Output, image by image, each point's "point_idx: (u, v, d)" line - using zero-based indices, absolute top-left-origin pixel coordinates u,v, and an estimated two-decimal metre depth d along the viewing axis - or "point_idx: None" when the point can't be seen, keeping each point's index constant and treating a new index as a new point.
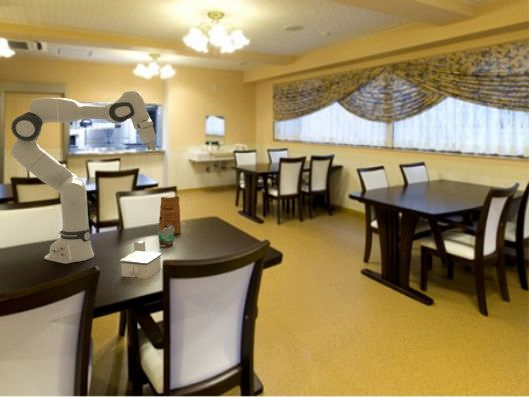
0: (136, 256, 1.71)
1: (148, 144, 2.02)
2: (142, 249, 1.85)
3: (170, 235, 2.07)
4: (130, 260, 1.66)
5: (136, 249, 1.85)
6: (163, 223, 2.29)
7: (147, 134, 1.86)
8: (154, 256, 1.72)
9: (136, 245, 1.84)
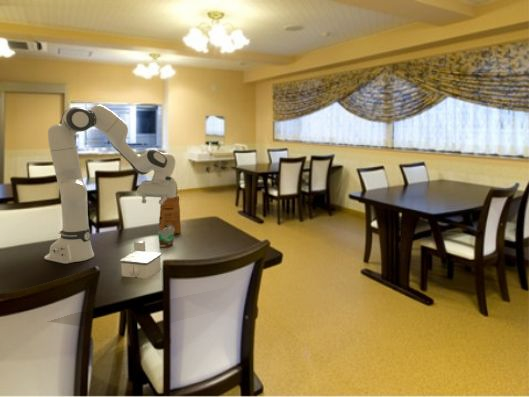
0: (136, 256, 1.71)
1: (144, 198, 1.99)
2: (142, 249, 1.85)
3: (170, 235, 2.07)
4: (130, 260, 1.66)
5: (136, 249, 1.85)
6: (163, 223, 2.29)
7: (173, 188, 1.97)
8: (154, 256, 1.72)
9: (136, 245, 1.84)
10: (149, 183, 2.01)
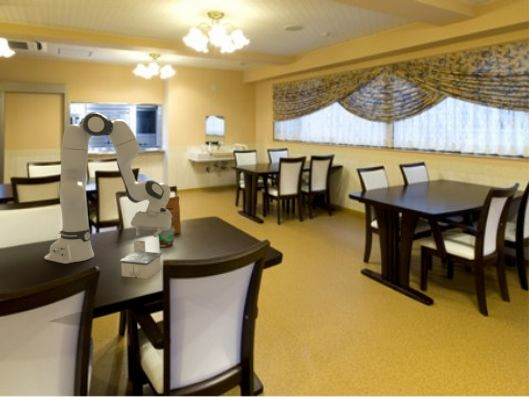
0: (136, 256, 1.71)
1: (138, 230, 1.95)
2: (142, 249, 1.85)
3: (170, 235, 2.07)
4: (130, 260, 1.66)
5: (136, 249, 1.85)
6: None
7: (168, 220, 1.94)
8: (154, 256, 1.72)
9: (136, 245, 1.84)
10: (143, 214, 1.98)
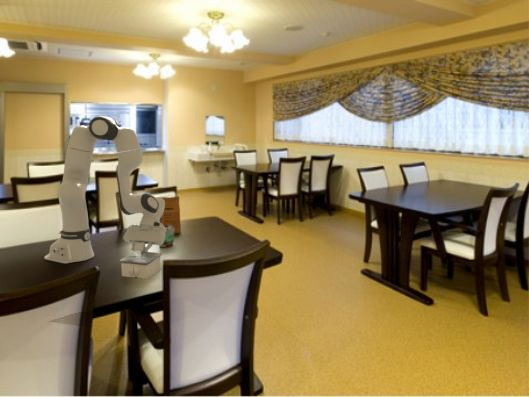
0: (136, 256, 1.71)
1: None
2: (142, 249, 1.85)
3: (170, 235, 2.07)
4: (130, 260, 1.66)
5: (136, 249, 1.85)
6: (163, 223, 2.29)
7: (162, 234, 1.88)
8: (154, 256, 1.72)
9: (136, 245, 1.84)
10: (137, 228, 1.92)
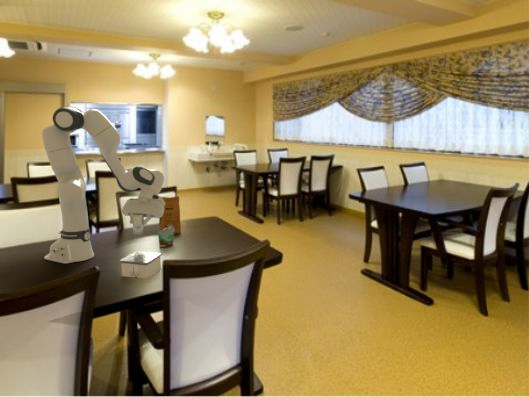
0: (136, 256, 1.71)
1: (132, 218, 1.86)
2: (141, 222, 1.83)
3: (170, 235, 2.07)
4: (130, 260, 1.66)
5: (135, 222, 1.82)
6: (163, 223, 2.29)
7: (161, 207, 1.85)
8: (154, 256, 1.72)
9: (135, 217, 1.81)
10: (135, 202, 1.89)
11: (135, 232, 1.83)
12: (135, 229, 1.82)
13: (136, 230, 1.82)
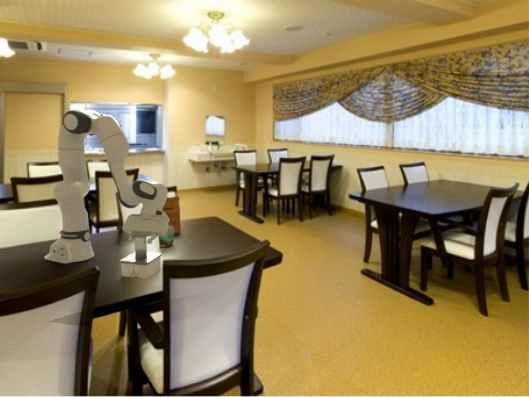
0: None
1: (131, 236, 1.72)
2: (143, 245, 1.69)
3: (170, 235, 2.07)
4: (130, 261, 1.66)
5: (137, 245, 1.68)
6: None
7: (165, 224, 1.71)
8: (154, 256, 1.72)
9: (137, 240, 1.67)
10: (137, 218, 1.75)
11: (137, 256, 1.69)
12: (137, 253, 1.69)
13: (139, 254, 1.69)
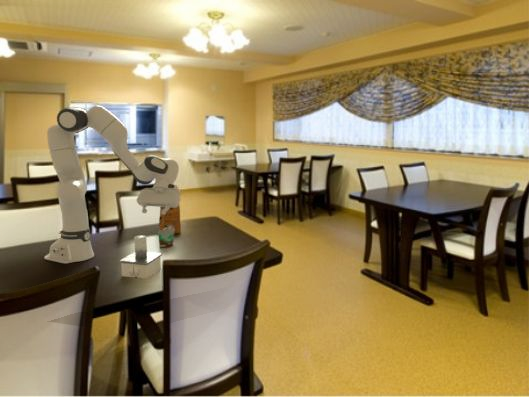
0: None
1: (144, 207, 1.82)
2: (143, 244, 1.69)
3: (170, 235, 2.07)
4: (130, 261, 1.66)
5: (137, 244, 1.68)
6: (163, 223, 2.29)
7: (177, 196, 1.81)
8: (154, 256, 1.72)
9: (137, 240, 1.68)
10: (150, 191, 1.85)
11: (137, 256, 1.69)
12: (137, 253, 1.69)
13: (139, 254, 1.69)
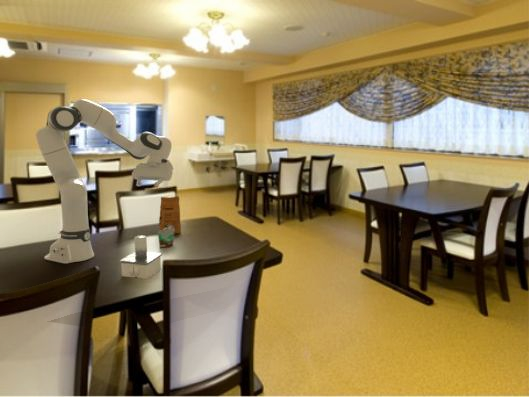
0: None
1: (139, 181, 1.95)
2: (143, 245, 1.69)
3: (170, 235, 2.07)
4: (130, 261, 1.66)
5: (137, 245, 1.68)
6: (163, 223, 2.29)
7: (169, 170, 1.94)
8: (154, 256, 1.72)
9: (137, 240, 1.67)
10: (145, 166, 1.98)
11: (137, 256, 1.69)
12: (137, 253, 1.69)
13: (139, 254, 1.69)
